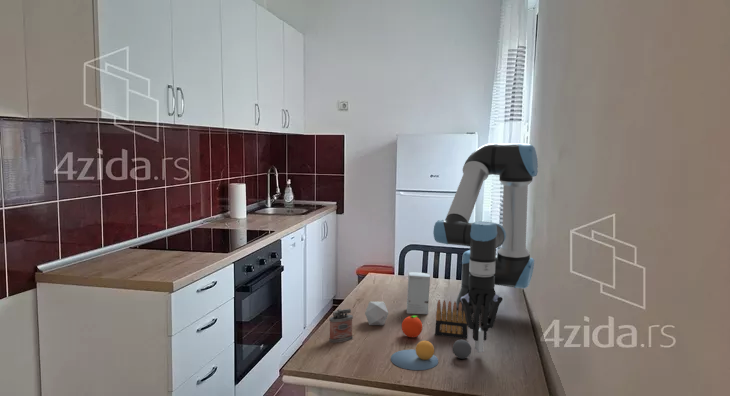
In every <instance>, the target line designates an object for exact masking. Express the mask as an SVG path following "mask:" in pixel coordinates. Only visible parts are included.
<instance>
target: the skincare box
mask: <svg viewBox="0 0 730 396" xmlns="http://www.w3.org/2000/svg"><path fill="white" fill-rule="evenodd" d="M407 273H408V276H407V277H408V279H407V298H406V314H409V315H410V314H413V315H414V314H417V315H428V314H429V303H430V301H429V300H430V288H431V287H430V286H431V285H430V284H431V276H430V273H427V272H417V271H416V272H415V271H412V272H410V271H408V272H407Z"/></svg>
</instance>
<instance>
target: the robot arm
mask: <svg viewBox="0 0 730 396" xmlns="http://www.w3.org/2000/svg"><path fill="white" fill-rule="evenodd" d="M537 155H538V154H537V151H536V148H535V146H534V145H532V144H530V143H522V142H517V143H515V142H514V143H509V142H507V143H506V142H505V143H502V142H501V143H500V142H499V143H496V142H492V143H491V142H490V143H486V144H484V145H482V146H480V147H478V148H477V149H476V150H474V151H473V152H472V153H471V154H470V155H469V156H468V158H467V159H466V160H465V162H464V163H463V166H462V177H461V180H460V182H459V184H458V187H457V189H456V192H455V195H454V196H453V199H452V202H451V204H450V207H449V209H448V211H447V214H446V217H445V219H442V220H441V219H440V220H437V221H436V222H435V223H434V225H433V238H434V241H435V242H436V243H438V244H439V243H440V244H444V245H453V246H454V245H455V246H464V247H469V250H466V251H464V252H463V254H462V260H461V283H460V284H461V285H460V286H461V287H460V291H459V292H458V295H457V298H456V301H455V302H456V305H457V309H458V307H459V303H460V302H461V304H462V312H463V311H464V313H465V318H466V323H467V328H469V329H470V330H472V339H473V341H474V342H475V343H474V349H475V350H476V352H477V353H484V341H486V340H487V332H488V331H489V329H493V328H494V324H495V321H496V318H497V314H498V311H499V307H500V304H501V303H502V301H503V297H502V296H500V295H499V294H497V293H496V289H495V286H501V287H509V288H514V289H526V288H528V287H529V285H530V283H531V280H532V277H533V273H534V267H535V259H534V258H533V257H531V255H530V253H531V252H530V251H529V250H528V249H527V246H526V245H527V244H526V243H527V223H528V222H527V221H528V193H529V192H528V191H529V185H530V184H531V183H533V178H534V177H536V176H537V175H538V172H539V171H538V170H539V169H538V168H539V165H538V156H537ZM491 175H494V176H499V182H500V183H501V184H502V185H503V188H502V189H503V190H502V191H503V194H502V195H503V197H502V200H503V201H502V225H501V224H499V223H496V222H493V221H485V220H484V221H474V222H470V219H471V216H472V213H473V212H474V209H475V208H474V207H475V205H476V203H477V200H478V197H479V195H480V192H481V190H482V187H483V184H484V181H486V180H487V179H488V178H489V176H491ZM497 248H499V249H498V250H497Z"/></svg>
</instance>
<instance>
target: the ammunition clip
mask: <svg viewBox="0 0 730 396" xmlns="http://www.w3.org/2000/svg"><path fill="white" fill-rule="evenodd" d="M447 304H448V305H447ZM447 304H446V300H445V299H444V300H443V301H442V305H441V300H440V299H438V301H437V304H436V305H437V306H436V313H435V326H434V327H435V330H434V335H435V336H442V337H449V338H458V339H464V340H465V339H468V326H467V323H466V318H465V313H464V311H462V304H461V302H460V303H459V307H458V308H457V305H456V301H454V302H453V306H452V302H451V300H449V301H448V303H447ZM457 309H458V310H457Z"/></svg>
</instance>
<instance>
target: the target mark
mask: <svg viewBox="0 0 730 396" xmlns="http://www.w3.org/2000/svg"><path fill="white" fill-rule="evenodd" d="M390 361H391V362H392V364H394V366H396V367H398V368H401V369H405V370H408V371H426V370H430V369H433V368H435V367H436V366H438V364H439V359H438V357H437V356H436V355H435V354H433V356H432V357H431V358H430V359H428V360H423V359H420V358H419V357H418V356H417V354H416V349H411V348H410V349H402V350H398V351H396V352H394V353H393V354H392V355H391V356H390Z"/></svg>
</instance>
